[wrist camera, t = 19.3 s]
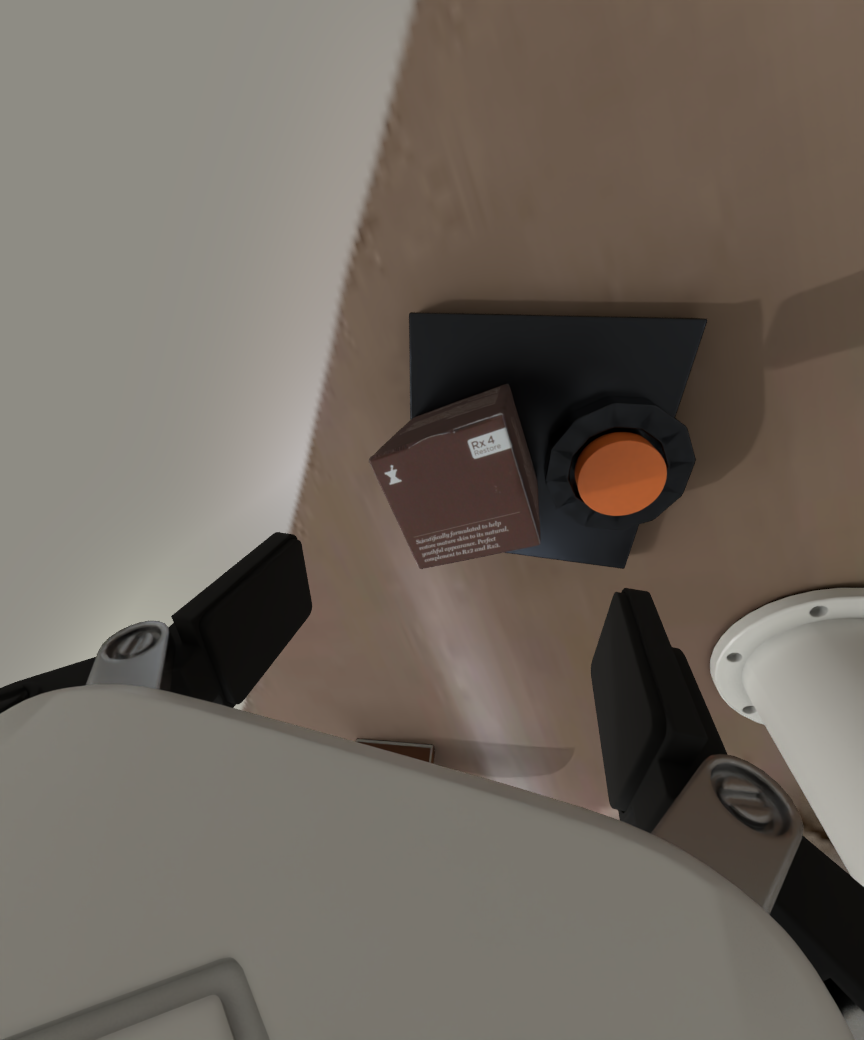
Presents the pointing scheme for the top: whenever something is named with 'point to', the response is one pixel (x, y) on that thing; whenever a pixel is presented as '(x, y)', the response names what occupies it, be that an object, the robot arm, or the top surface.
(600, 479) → the button
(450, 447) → the box
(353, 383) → the top surface
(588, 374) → the scale
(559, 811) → the robot arm
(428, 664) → the top surface
